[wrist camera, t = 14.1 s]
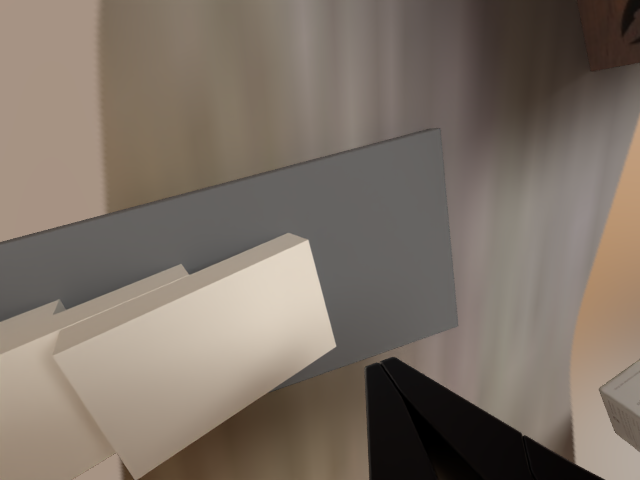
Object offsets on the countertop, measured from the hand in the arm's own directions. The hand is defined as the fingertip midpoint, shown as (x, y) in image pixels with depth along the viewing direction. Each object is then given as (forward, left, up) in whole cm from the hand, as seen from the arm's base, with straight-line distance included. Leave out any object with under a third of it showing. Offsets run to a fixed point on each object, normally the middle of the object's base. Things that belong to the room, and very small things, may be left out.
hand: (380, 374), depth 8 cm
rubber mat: (0, +7, -7) cm, 10 cm away
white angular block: (0, +1, -5) cm, 5 cm away
